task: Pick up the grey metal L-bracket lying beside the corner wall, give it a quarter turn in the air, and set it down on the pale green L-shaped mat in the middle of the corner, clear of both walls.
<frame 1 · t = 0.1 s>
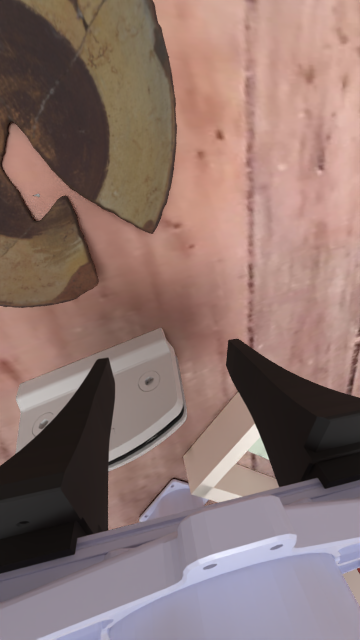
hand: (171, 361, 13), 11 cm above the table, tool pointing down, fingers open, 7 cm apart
corner wall: (262, 436, 33), on the table
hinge: (108, 380, 26), on the table
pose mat: (280, 438, 34), on the table
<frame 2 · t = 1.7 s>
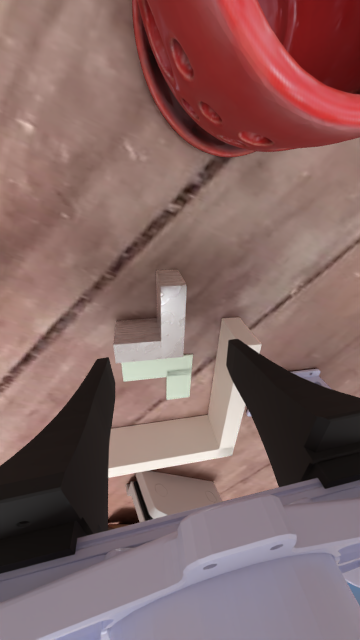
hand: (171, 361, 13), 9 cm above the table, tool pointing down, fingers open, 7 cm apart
plant pot: (231, 39, 14), on the table
corner wall: (166, 384, 28), on the table
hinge: (175, 477, 40), on the table
bracket: (166, 304, 22), on the table
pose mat: (157, 367, 26), on the table
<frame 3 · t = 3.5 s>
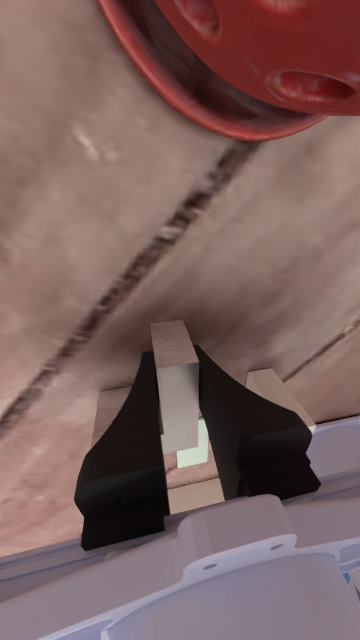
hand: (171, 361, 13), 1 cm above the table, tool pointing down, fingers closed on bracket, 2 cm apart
corner wall: (176, 452, 21), on the table
bracket: (169, 364, 15), on the table, touching gripper
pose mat: (163, 435, 19), on the table
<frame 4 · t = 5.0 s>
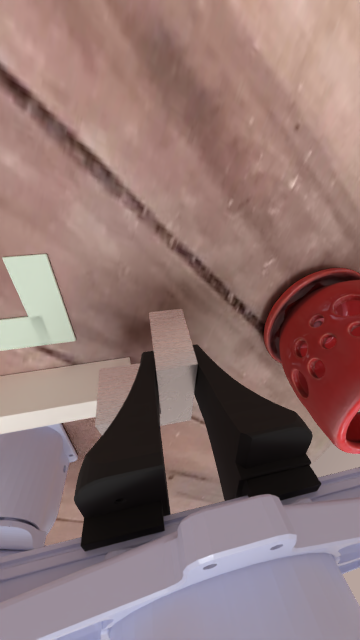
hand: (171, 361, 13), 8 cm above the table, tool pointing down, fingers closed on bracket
plant pot: (307, 315, 25), on the table
corner wall: (10, 318, 19), on the table
bracket: (167, 346, 16), point 6 cm above the table, tilted 15°, touching gripper
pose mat: (44, 303, 19), on the table
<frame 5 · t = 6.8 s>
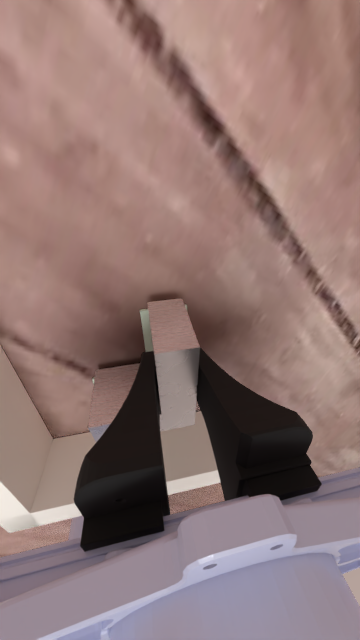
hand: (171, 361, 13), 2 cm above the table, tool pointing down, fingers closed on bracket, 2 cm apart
corner wall: (127, 372, 16), on the table
bracket: (167, 343, 15), point 1 cm above the table, tilted 8°, touching gripper, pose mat
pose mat: (167, 355, 16), on the table
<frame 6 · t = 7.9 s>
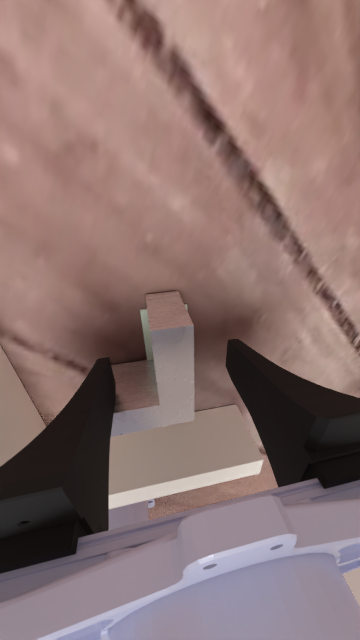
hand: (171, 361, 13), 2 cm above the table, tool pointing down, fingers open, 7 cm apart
corner wall: (127, 371, 16), on the table
bracket: (166, 339, 15), on the table, touching gripper, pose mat
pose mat: (167, 355, 16), on the table
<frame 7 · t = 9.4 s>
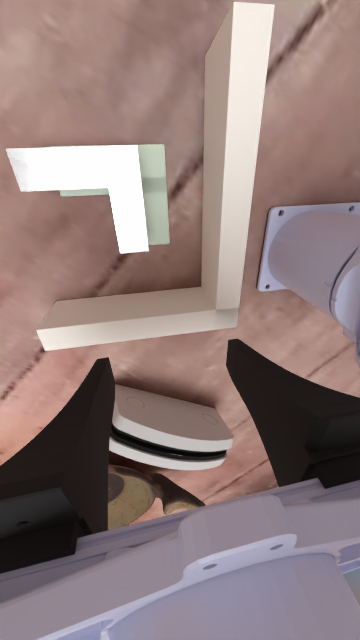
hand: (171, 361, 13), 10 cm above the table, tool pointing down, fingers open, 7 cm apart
oil lamp: (103, 478, 39), on the table
corner wall: (131, 214, 18), on the table
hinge: (163, 400, 31), on the table
bracket: (90, 172, 16), on the table, touching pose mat
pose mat: (112, 170, 17), on the table
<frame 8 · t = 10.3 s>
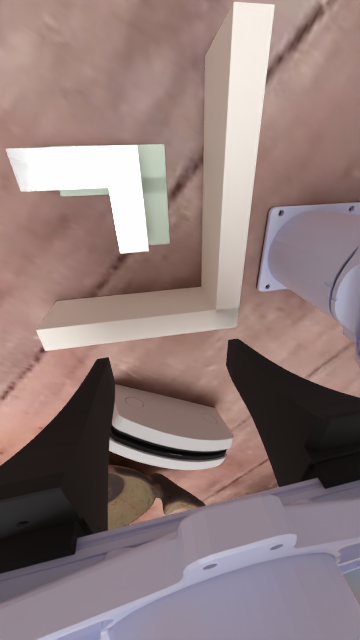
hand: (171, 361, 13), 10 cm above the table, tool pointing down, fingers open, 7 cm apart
oil lamp: (103, 478, 39), on the table
corner wall: (131, 214, 18), on the table
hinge: (163, 399, 31), on the table
bracket: (90, 172, 16), on the table, touching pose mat
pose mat: (112, 170, 17), on the table
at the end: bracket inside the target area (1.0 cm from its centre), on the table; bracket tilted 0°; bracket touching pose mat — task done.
